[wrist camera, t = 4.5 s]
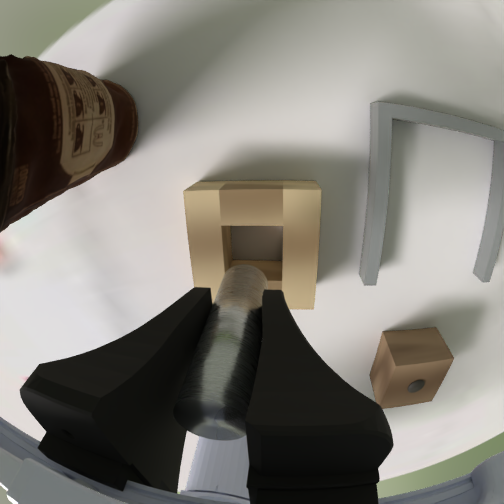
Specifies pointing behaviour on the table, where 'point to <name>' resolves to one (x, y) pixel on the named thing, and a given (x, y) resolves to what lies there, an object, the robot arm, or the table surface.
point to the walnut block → (409, 367)
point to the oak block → (256, 214)
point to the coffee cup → (56, 131)
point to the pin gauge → (225, 359)
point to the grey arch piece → (381, 114)
